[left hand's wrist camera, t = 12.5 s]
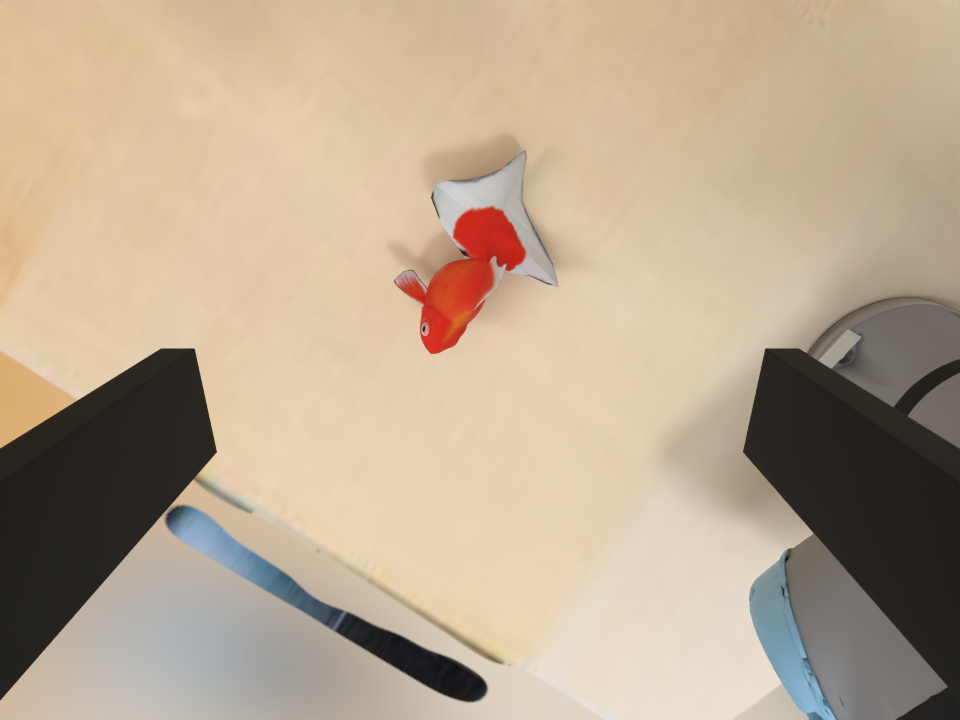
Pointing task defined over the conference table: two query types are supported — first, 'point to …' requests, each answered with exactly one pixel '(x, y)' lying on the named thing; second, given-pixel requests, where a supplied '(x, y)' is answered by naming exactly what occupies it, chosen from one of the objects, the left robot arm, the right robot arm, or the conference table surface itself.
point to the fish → (477, 251)
